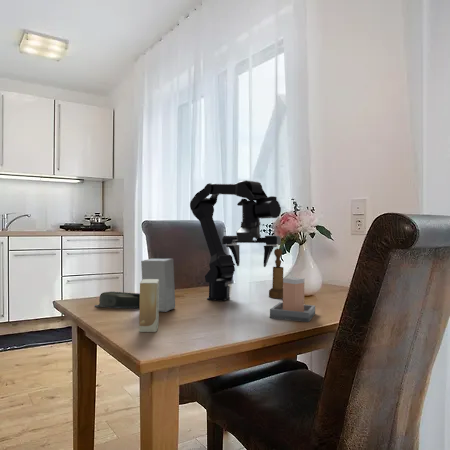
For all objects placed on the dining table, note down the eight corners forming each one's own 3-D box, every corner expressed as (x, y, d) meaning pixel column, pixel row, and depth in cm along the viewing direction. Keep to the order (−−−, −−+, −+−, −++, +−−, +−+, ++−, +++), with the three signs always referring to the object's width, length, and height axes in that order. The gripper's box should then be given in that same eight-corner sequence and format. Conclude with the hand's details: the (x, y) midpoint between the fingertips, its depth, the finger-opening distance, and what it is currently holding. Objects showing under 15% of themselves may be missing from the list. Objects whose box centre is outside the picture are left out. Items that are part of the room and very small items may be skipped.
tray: (269, 318, 110) (270, 309, 110) (279, 310, 120) (279, 302, 120) (308, 322, 106) (308, 313, 106) (315, 313, 116) (315, 305, 116)
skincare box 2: (141, 325, 100) (142, 278, 100) (158, 325, 100) (159, 278, 100) (138, 332, 93) (139, 282, 93) (156, 332, 94) (157, 282, 94)
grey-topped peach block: (294, 314, 110) (295, 279, 110) (282, 312, 113) (283, 278, 113) (304, 312, 113) (304, 278, 113) (291, 310, 116) (292, 277, 116)
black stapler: (143, 292, 123) (97, 290, 124) (141, 294, 120) (94, 292, 121) (143, 308, 123) (96, 305, 124) (140, 310, 120) (93, 307, 121)
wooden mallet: (286, 298, 140) (286, 249, 140) (268, 298, 141) (268, 249, 141) (286, 295, 146) (287, 248, 146) (269, 294, 147) (270, 248, 147)
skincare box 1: (175, 308, 121) (176, 258, 121) (164, 313, 114) (165, 260, 114) (151, 306, 124) (152, 257, 124) (140, 310, 117) (140, 258, 117)
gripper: (215, 218, 123) (215, 267, 122) (272, 217, 116) (272, 269, 115) (228, 219, 133) (228, 264, 133) (281, 218, 126) (281, 266, 126)
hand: (251, 266), depth 126 cm, fingers open, 9 cm apart
